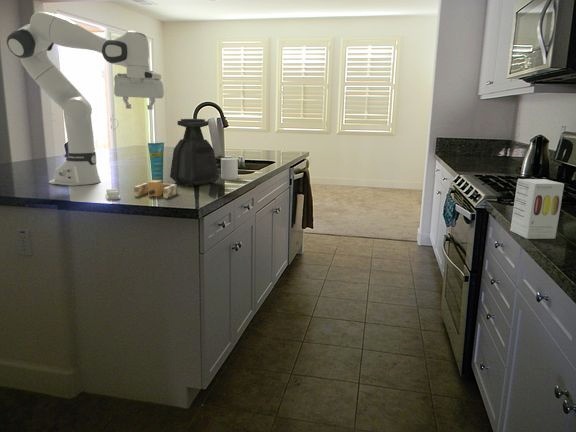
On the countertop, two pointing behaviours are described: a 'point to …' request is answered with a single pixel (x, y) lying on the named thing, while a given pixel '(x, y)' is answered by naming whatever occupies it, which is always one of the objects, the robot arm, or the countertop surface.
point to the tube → (156, 160)
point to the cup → (229, 168)
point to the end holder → (167, 189)
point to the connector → (155, 188)
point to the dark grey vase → (194, 156)
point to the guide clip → (112, 194)
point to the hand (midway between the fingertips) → (139, 109)
